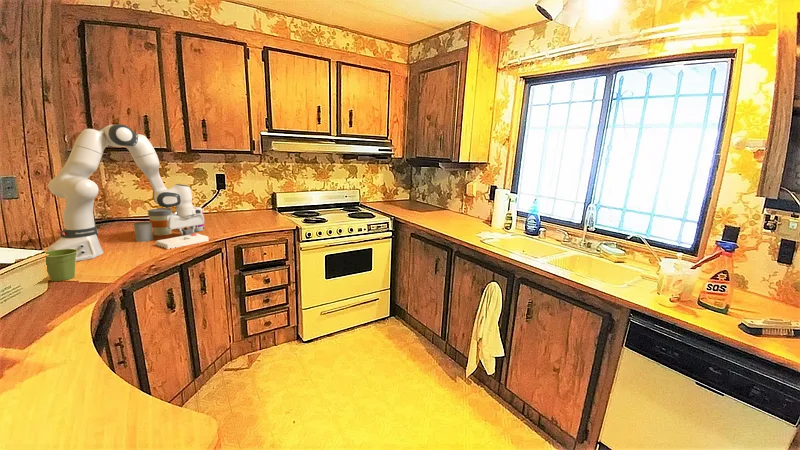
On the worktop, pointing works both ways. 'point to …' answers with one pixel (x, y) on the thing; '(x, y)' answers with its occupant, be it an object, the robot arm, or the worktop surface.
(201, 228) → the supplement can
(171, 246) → the socket plate
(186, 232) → the plug
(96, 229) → the robot arm
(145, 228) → the cup
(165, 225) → the reusable coffee cup
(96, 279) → the worktop surface
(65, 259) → the plant pot
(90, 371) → the worktop surface
